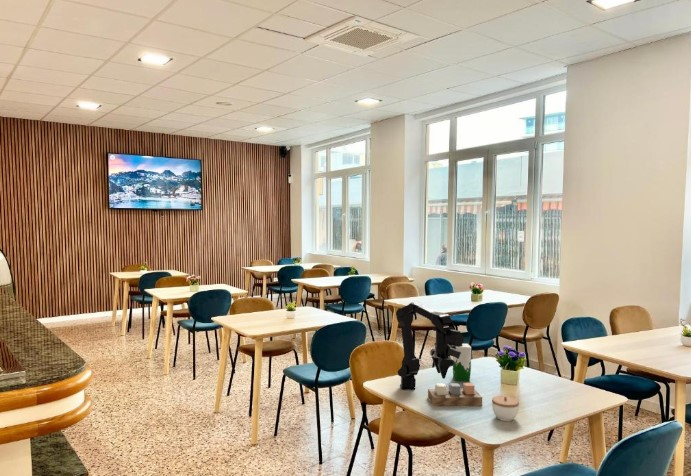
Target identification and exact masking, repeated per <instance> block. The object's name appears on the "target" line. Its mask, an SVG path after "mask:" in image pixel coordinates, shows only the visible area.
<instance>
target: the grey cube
mask: <svg viewBox="0 0 691 476" xmlns="http://www.w3.org/2000/svg"><path fill="white" fill-rule="evenodd" d="M448 389H449V392H450V394H451V395H460V389H461V385H460V384H459V383H458V382H456V383H449V386H448Z"/></svg>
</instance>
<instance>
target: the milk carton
mask: <svg viewBox="0 0 691 476" xmlns="http://www.w3.org/2000/svg"><path fill="white" fill-rule="evenodd" d="M455 347H456V349H457V350H459V351H460V352H461V354H460V357H459V359H457V358H456V357H453V356H452V360H453V361H454V366H452V378H453V379H454V381H456V382H470V381H471V380H470V379H471V373H472V372H471V371H472V346H471V345H470V344H469V343H463V344H462V345H461V346H460V347H457V346H455Z"/></svg>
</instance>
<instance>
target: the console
mask: <svg viewBox="0 0 691 476" xmlns="http://www.w3.org/2000/svg"><path fill="white" fill-rule="evenodd" d="M427 398H428V400H429V401H430V403H431V404H432V406H433V407H436V408H437V407H438V408H439V407H440V408H441V407H482V406H483V396H482V395H481V394H480V393H479V392H478V391H477V390H476V389H475V388H474V394H473V395H466V394H465V393H464V392H463V388H460V395H451V394H450V392H449V388H446V395H437V394H436V392H435V388H429V389H427Z"/></svg>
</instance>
